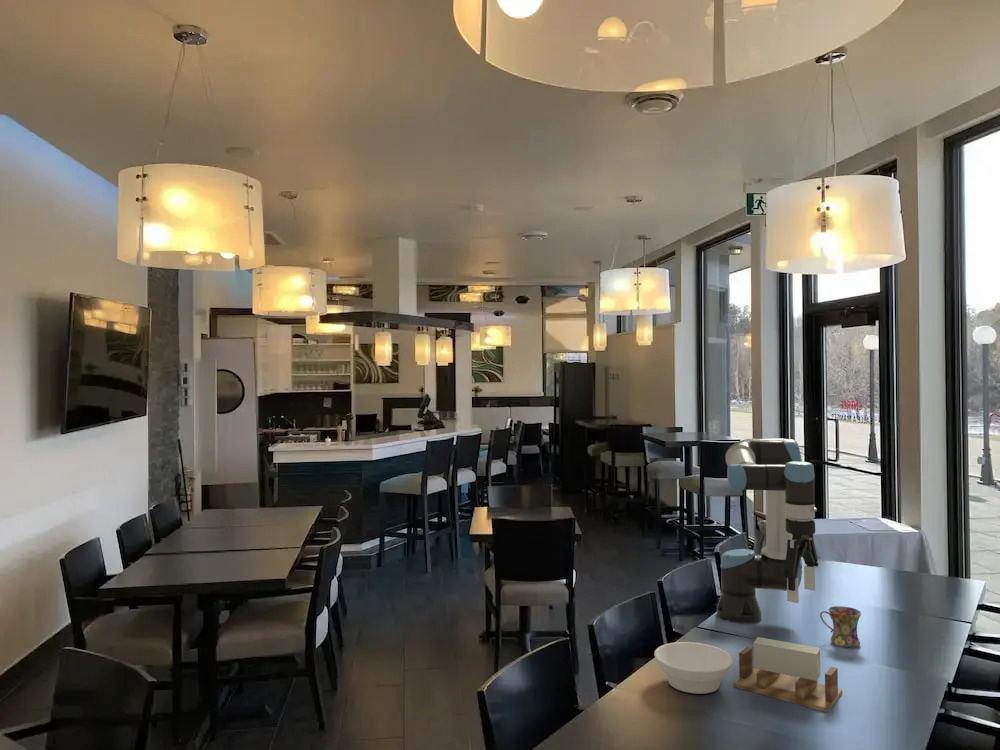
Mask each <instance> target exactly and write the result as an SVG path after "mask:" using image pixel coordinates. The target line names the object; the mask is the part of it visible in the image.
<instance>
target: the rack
mask: <svg viewBox="0 0 1000 750" xmlns="http://www.w3.org/2000/svg"><path fill="white" fill-rule="evenodd" d="M738 660H739V661H738V665H739V667H738V668H739V669H738V672H739V677H738V678H737V679H736V680H735V681H734V682H733V687H734V688H738V689H741V690H745V691H748V692H752V693H756V694H760V695H763V696H767V697H771V698H772V699H773V698H774V699H778V700H781V701H784V702H788V703H791V704H795V705H799V706H802V707H806V708H810V709H813V710H817V711H821V712H825V713H828V712H829V711H830V709H831V708H832V707H833V706H834V705H835V703H836V702H837V701H838V699H839V698H840V697H841V696H842V694H843V689H841V688H839V684H838V683H839V678H838V677H839V676H838V669H839V668H838V667H835V666H830V667H829V668H828V670H827V671H826V672H825V673H824V684H821V683H818V681H815V680H810V679H805V678H800V677H795V676H790V675H785V674H780V673H775V672H770V671H765V670H760V669H755V668H754V655H753V647H751V646H746V647H745V648H743V649H742V650H740V651H739V653H738Z"/></svg>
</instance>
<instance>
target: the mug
mask: <svg viewBox="0 0 1000 750" xmlns="http://www.w3.org/2000/svg"><path fill="white" fill-rule="evenodd" d="M823 613H824V614H828V615H829V617H830V619H831V620H832V625H833V626H832V627H833V628H832V627H831V626H830V625H829V624H827V622H826V621H825V620H824V618H823V615H822V614H823ZM861 615H862V611H860V610H858V609H856V608H854V607H849V606H842V605H841V606H839V605H838V606H837V605H835V606H831V607H829V608H828V611H827V610H823V611H821V612H820V613H819V617H820V619H821V621H822V623H823V624H824V625H825V626H826V628H828V629H830V630H831V631H830V633H832V636H831V637H830V641H831V643H833V644H835V645H836V646H840V647H843V648H857V647H860V645H861V642H860V639H859V637H858V635H859V634H858V623H859V620H860V618H861Z"/></svg>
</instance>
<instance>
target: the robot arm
mask: <svg viewBox="0 0 1000 750" xmlns="http://www.w3.org/2000/svg"><path fill="white" fill-rule="evenodd" d="M724 458H725V463H726V465H727V469H726V470H727V473H726V475H727V476H726V477H727V486H728V488H729V489H730V490H737V491H749V490H750V491H765V532H766V533H765V538H766V539H765V543H766V544H765V546H764V547H762V548H761V554H756V552H755V551H754V550H753V549H747V548H736V549H731V550H727V551H724V552H723V553H722V555H721V558H720V565H719V566H720V567H719V568H720V570H721V572H720V574H721V577H720V578H721V579H720V581H721V583H720V585H721V594H720V597H719V600H718V603H717V606H716V616H717V617H719V619H721V620H724V621H726V622H731V623H738V624H753V623H758V622H760V621H761V620H762V610H761V608H760V604H759V602H758V598H757V595H756V594H757V593H756V591H757V590H756V589H759V590H772V591H773V590H775V591H786V594H787V595H786V597H787V599H786V601H787V602H790V603H794V604H799V602H800V600H799V594H800V593H799V592H800V591H799V587H800V585H801V582H802V575H803V579H804V581H803V583H804V585H803V587H804V590H808V591H816V567H817V568H818V567H819V562H818V560H819V559H818V555H817V550H816V545H815V542H814V541H815V540H814V534H815V533H816V521H815V518H816V512H818V511H817V510H818V509H817V508H816V507H815V479H816V478H815V477H816V475H815V467H814V464H813V463H811V462H807V461H803V459H802V454H801V450H800V446H799V442H797V441H796V440H794V439H791V438H746V439H742V440H740V441H737V442H735V443H734V444H732V445H730V446H729V448H728V449H727V450H726V452H725V457H724ZM802 559H803V560H802ZM803 562H804V564H805V565H803ZM802 568H803V569H802Z"/></svg>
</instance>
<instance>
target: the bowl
mask: <svg viewBox="0 0 1000 750" xmlns="http://www.w3.org/2000/svg"><path fill="white" fill-rule="evenodd" d="M654 658H655V660H656V662H657V665H658V666H659V668H660V670H661V671H662V672H663V673H665V675H666V678H667V681H668V684H669V685H670V686H671V687H672V688H674V689H676V690H678V691H681V692H683V693H684V692H685V693H690V694H709V693H714V692H716V691H718V690H719V688H720V686H721V682H722V680H723V678H725V677H727V675H728V674H729V671H730V670H731V668H732V665H733V663H734V658H733V657H732V656H731V654H730V653H728V652H727V651H725V650H724V649H723V648H720V647H717V646H714V645H711V644H706V643H703V642H702V643H701V642H693V641H692V642H691V641H680V642H679V641H678V642H677V641H676V642H670V643H669V642H668V643H666V644H663V645H660V646H658V647H657V648H656V649H655V650H654Z"/></svg>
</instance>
